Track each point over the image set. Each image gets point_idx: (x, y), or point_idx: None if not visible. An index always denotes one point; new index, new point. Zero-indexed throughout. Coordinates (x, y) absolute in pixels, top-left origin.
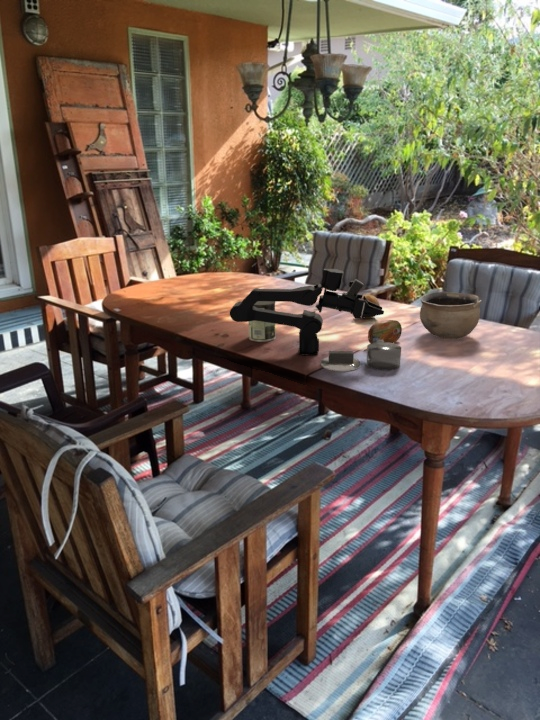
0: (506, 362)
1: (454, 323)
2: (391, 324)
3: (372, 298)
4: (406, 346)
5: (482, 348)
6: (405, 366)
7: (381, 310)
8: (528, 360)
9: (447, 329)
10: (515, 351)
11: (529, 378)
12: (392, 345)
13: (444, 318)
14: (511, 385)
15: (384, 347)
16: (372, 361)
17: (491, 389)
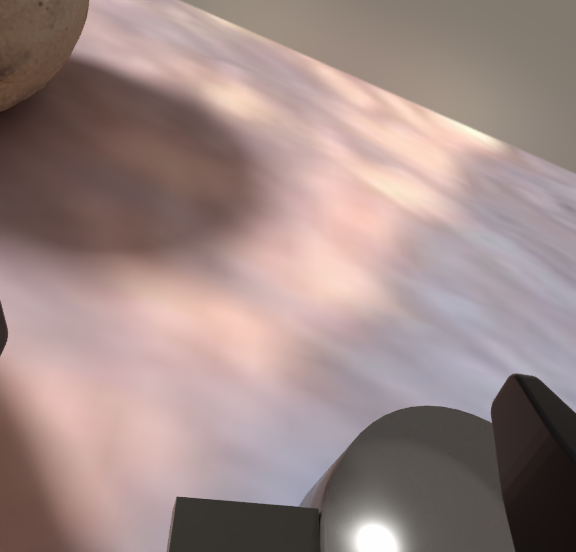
0: (316, 99)
1: (79, 16)
2: None
3: None
4: (25, 315)
5: (158, 79)
6: None
7: (574, 416)
8: (296, 58)
9: (54, 66)
10: (208, 39)
11: (446, 122)
12: (413, 461)
13: (41, 7)
14: (515, 176)
15: (483, 549)
16: None
17: (569, 229)
